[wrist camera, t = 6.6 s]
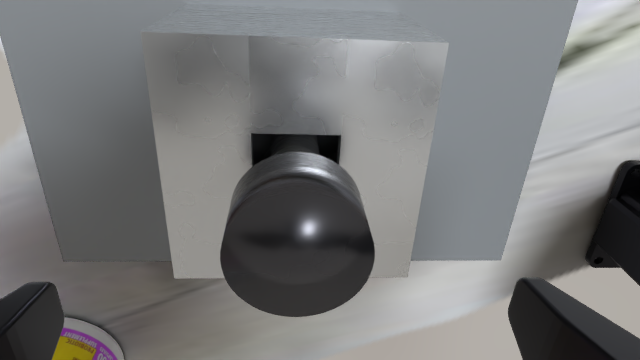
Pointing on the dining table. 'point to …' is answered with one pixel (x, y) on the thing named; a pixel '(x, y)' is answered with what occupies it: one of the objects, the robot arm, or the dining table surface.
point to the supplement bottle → (85, 343)
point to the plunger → (296, 228)
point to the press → (290, 113)
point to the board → (415, 3)
